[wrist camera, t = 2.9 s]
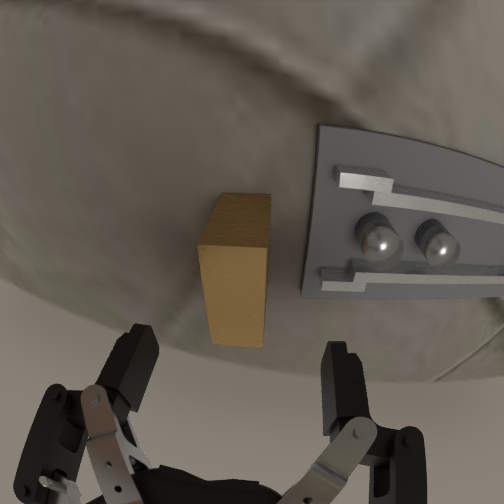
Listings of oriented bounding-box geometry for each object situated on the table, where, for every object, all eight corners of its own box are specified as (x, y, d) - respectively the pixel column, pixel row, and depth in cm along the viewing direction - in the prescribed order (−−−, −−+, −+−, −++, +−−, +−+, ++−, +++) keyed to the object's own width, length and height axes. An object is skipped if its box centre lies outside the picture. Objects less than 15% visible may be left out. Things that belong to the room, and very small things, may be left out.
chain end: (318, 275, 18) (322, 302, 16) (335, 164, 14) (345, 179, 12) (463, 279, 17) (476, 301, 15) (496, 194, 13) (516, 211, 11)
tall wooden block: (227, 280, 21) (212, 343, 16) (222, 192, 17) (197, 244, 12) (267, 282, 20) (262, 348, 15) (271, 193, 16) (266, 247, 11)
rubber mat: (300, 290, 20) (301, 297, 20) (318, 124, 14) (320, 125, 13) (526, 289, 18) (529, 294, 18) (565, 196, 11) (569, 200, 11)
